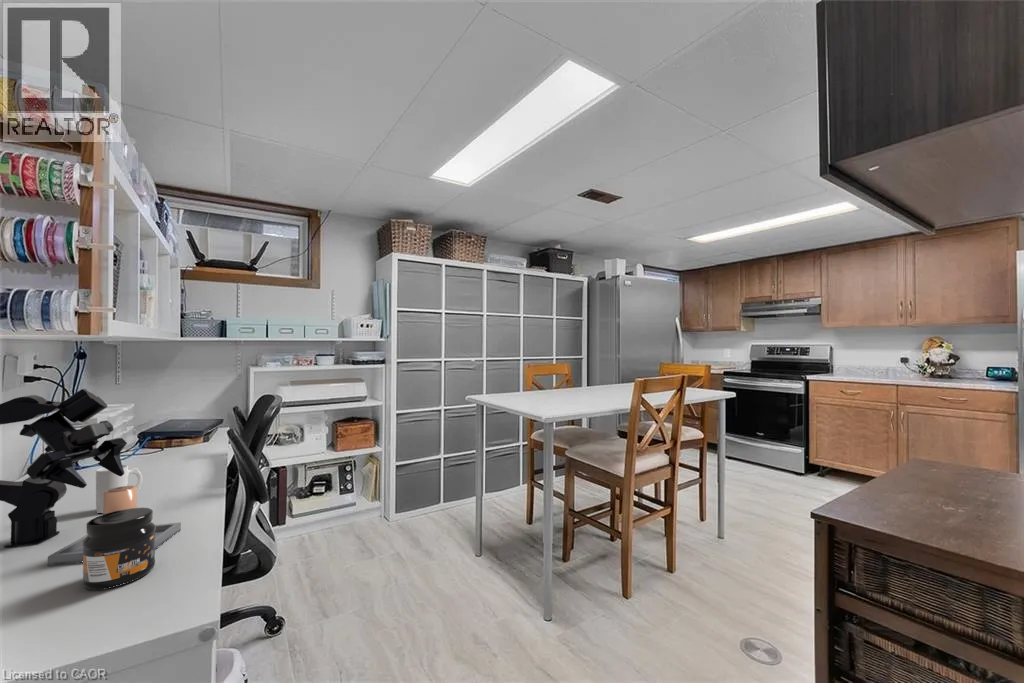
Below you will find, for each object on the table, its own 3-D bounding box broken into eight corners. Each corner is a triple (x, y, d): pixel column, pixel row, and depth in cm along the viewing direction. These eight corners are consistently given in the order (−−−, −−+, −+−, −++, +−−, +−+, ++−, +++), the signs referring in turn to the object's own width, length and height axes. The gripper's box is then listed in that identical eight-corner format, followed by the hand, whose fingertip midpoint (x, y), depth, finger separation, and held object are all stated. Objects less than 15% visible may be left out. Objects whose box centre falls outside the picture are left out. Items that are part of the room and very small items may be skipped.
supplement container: (83, 599, 74) (85, 532, 74) (79, 579, 81) (80, 517, 81) (159, 575, 82) (160, 514, 82) (150, 558, 89) (151, 502, 89)
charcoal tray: (47, 566, 86) (47, 556, 86) (93, 539, 99) (93, 531, 99) (149, 554, 91) (149, 545, 91) (180, 530, 103) (180, 522, 103)
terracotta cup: (95, 549, 92) (96, 493, 93) (121, 538, 98) (122, 485, 98) (118, 550, 92) (119, 493, 92) (142, 538, 97) (143, 485, 98)
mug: (97, 516, 114) (98, 472, 114) (92, 511, 117) (93, 468, 118) (145, 505, 122) (146, 464, 122) (138, 500, 126) (139, 461, 126)
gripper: (40, 418, 92) (88, 467, 92) (120, 407, 111) (160, 448, 110) (4, 454, 92) (52, 503, 91) (91, 437, 110) (131, 478, 110)
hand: (104, 480), depth 101 cm, fingers open, 9 cm apart
